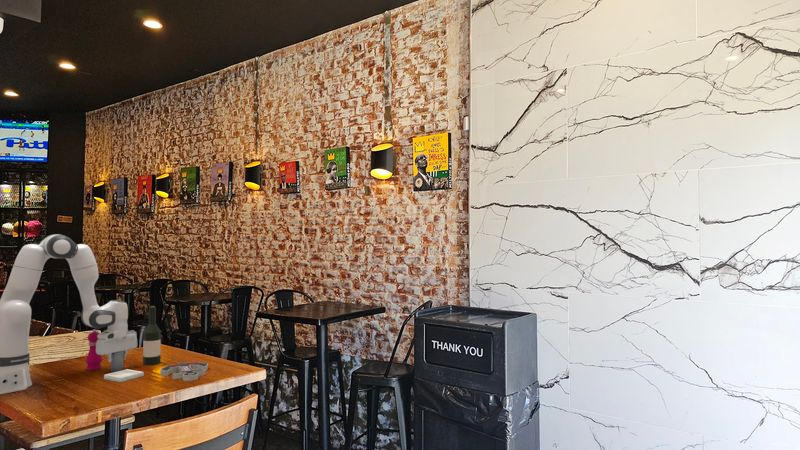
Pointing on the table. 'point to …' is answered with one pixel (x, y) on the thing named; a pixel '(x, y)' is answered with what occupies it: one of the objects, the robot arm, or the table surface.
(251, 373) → the table surface
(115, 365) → the grey cylinder
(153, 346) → the wine bottle
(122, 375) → the serving tray
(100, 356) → the pepper mill
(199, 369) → the decorative sign
